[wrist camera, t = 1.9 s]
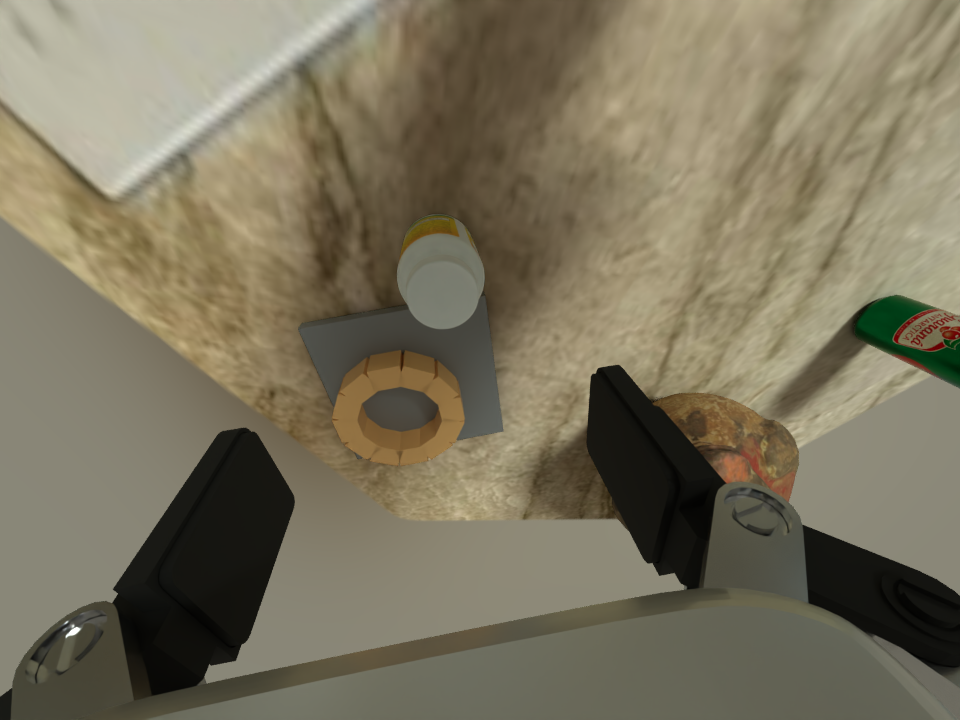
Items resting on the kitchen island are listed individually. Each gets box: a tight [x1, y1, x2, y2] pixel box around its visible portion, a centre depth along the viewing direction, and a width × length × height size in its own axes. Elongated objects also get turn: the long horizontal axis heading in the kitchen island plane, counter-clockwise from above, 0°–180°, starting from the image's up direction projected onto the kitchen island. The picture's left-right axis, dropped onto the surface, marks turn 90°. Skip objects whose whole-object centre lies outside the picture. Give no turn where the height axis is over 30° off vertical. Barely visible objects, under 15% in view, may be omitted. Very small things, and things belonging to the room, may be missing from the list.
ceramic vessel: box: [612, 393, 799, 531], centre depth 31 cm, size 17×26×25 cm, turn 37°
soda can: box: [854, 295, 960, 388], centre depth 32 cm, size 5×5×12 cm
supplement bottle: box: [397, 214, 485, 329], centre depth 24 cm, size 5×5×10 cm
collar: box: [332, 350, 465, 466], centre depth 33 cm, size 11×11×2 cm
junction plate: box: [298, 291, 503, 459], centre depth 34 cm, size 15×15×1 cm
